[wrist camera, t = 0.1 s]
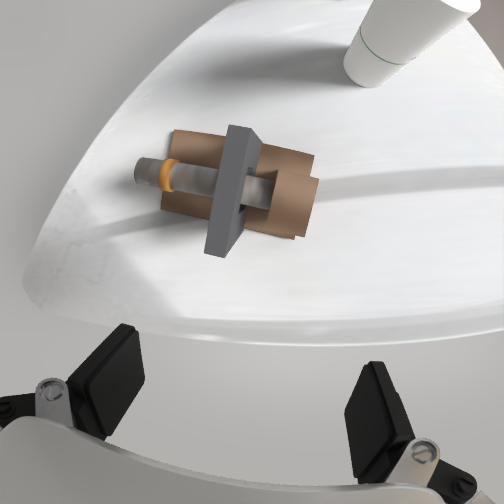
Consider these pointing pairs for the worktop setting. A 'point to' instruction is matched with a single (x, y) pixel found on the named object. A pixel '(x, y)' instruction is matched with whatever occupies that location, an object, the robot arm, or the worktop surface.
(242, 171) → the dark grey square plate
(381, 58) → the cylindrical container
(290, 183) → the pipe mount
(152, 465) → the robot arm
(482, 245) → the worktop surface
